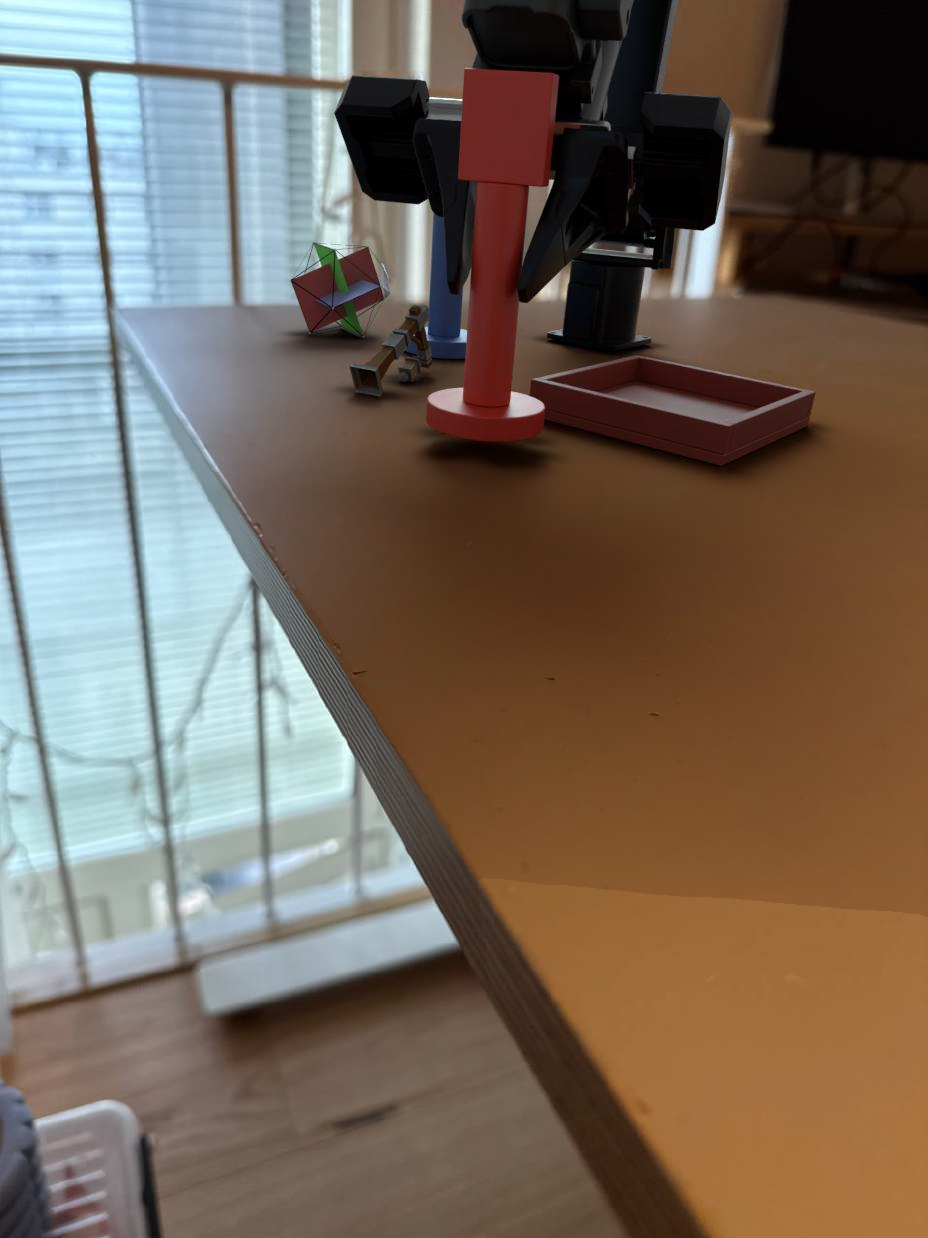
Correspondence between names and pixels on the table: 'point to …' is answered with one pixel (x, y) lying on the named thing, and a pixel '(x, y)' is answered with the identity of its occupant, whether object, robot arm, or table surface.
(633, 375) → the red tray
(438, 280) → the blue pillar
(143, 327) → the table surface
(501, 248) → the signpost on round base
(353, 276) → the geometric puzzle
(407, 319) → the jointed funnel contraption
